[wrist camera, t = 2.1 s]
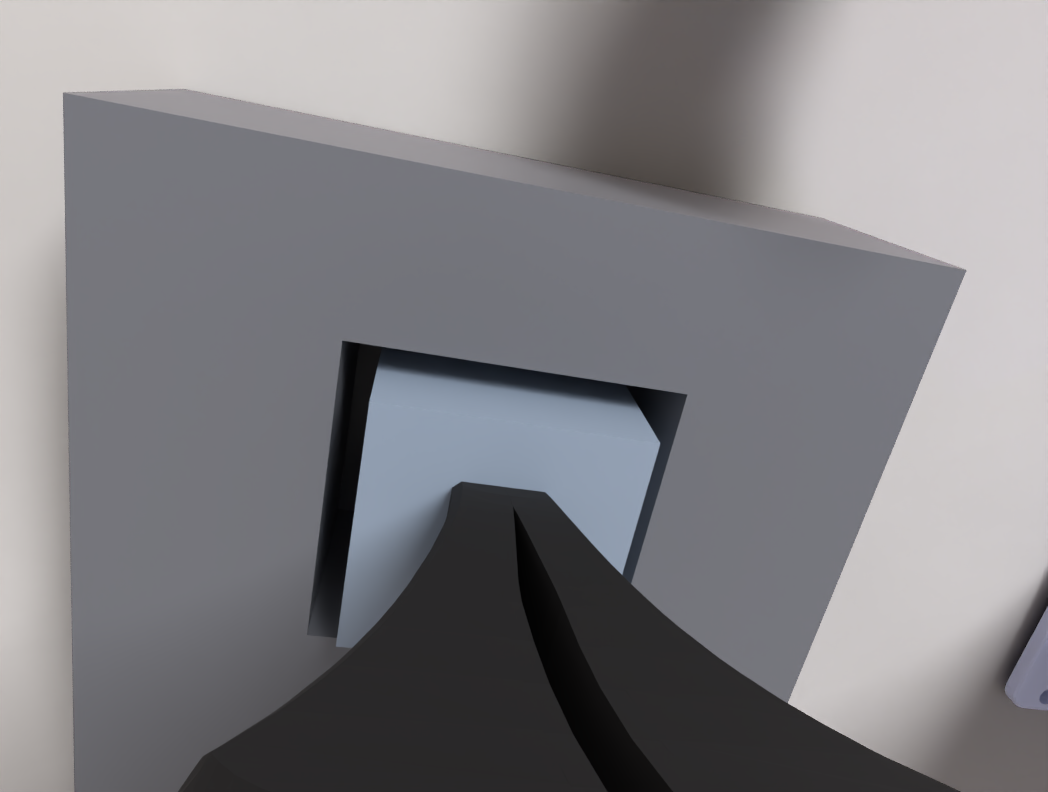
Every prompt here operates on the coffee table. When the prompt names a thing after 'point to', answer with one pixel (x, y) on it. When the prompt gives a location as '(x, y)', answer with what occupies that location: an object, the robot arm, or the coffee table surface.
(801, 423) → the key housing
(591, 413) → the blue key
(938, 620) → the coffee table surface
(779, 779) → the robot arm
